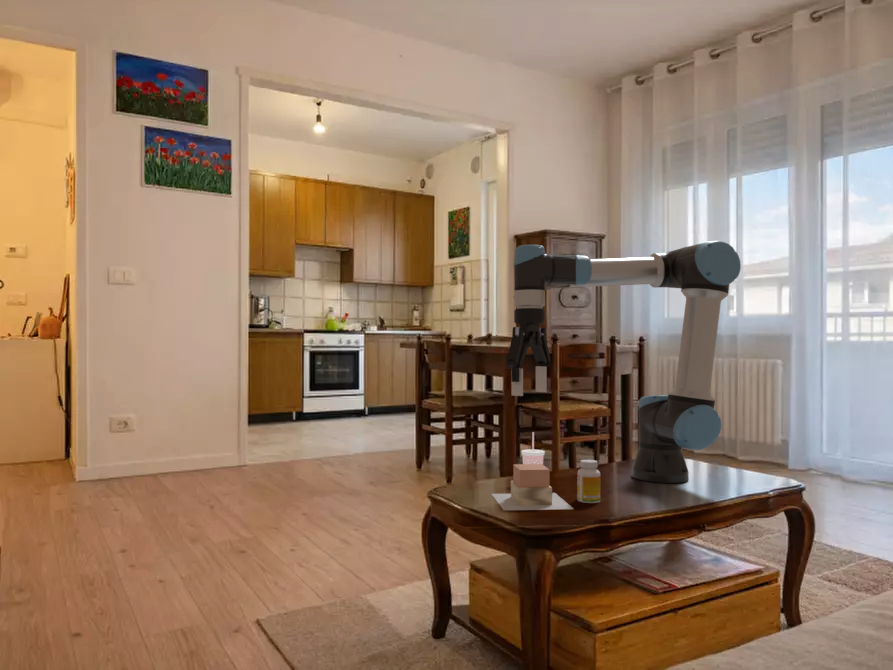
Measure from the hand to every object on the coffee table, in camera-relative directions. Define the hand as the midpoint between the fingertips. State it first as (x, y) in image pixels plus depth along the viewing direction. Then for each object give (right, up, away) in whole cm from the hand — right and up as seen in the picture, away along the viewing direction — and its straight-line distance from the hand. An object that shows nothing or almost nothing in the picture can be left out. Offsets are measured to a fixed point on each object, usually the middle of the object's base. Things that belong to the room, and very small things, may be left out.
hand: (529, 393), depth 166 cm
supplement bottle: (+13, -25, -7) cm, 29 cm away
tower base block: (-1, -24, -8) cm, 26 cm away
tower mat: (-1, -25, -8) cm, 26 cm away
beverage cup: (+2, -25, +11) cm, 28 cm away
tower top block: (-1, -20, -8) cm, 22 cm away
